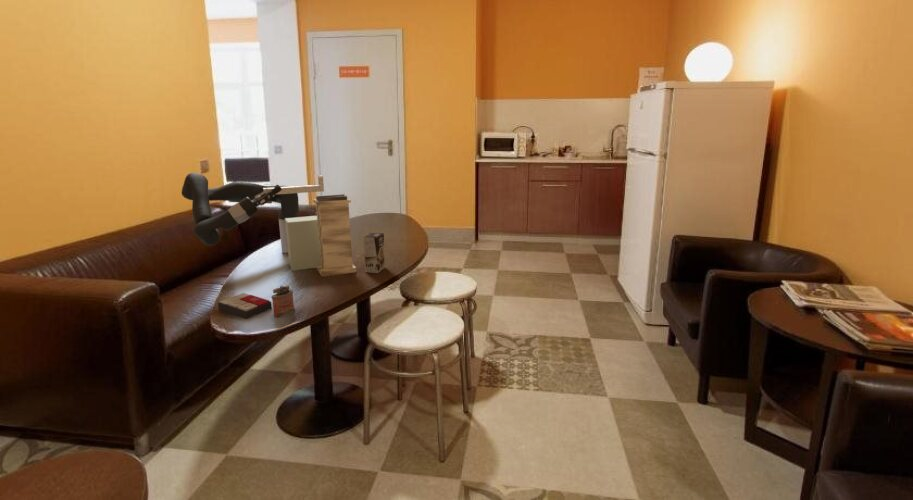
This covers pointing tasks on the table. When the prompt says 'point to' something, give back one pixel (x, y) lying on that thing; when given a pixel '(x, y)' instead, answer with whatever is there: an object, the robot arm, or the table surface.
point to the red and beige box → (244, 305)
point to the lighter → (282, 301)
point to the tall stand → (334, 235)
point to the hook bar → (300, 188)
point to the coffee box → (374, 252)
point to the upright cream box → (303, 242)
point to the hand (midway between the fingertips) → (279, 187)
